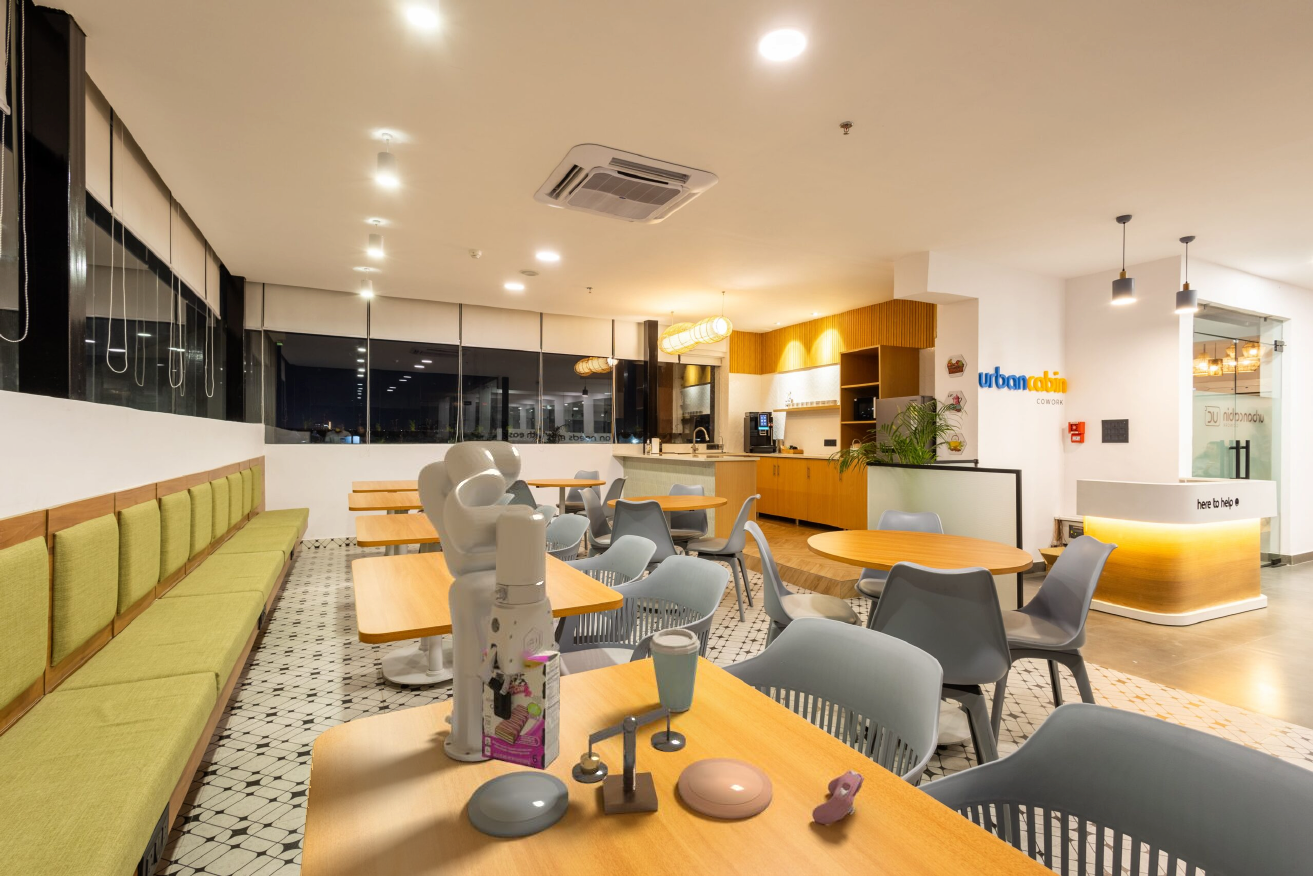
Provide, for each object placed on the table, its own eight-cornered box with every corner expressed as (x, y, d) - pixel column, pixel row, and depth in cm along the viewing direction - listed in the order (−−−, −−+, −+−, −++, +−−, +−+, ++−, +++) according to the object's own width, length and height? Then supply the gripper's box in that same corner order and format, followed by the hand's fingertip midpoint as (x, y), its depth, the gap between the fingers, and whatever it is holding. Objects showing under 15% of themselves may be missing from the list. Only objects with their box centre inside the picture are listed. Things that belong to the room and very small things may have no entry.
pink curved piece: (835, 842, 90) (858, 806, 88) (808, 818, 92) (830, 783, 90) (852, 807, 98) (873, 774, 97) (827, 786, 100) (847, 753, 99)
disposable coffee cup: (701, 718, 125) (702, 644, 125) (648, 717, 125) (648, 643, 125) (698, 695, 136) (699, 627, 135) (649, 695, 136) (650, 626, 136)
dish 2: (660, 794, 98) (660, 786, 98) (709, 755, 110) (710, 748, 110) (743, 832, 89) (743, 823, 89) (788, 785, 101) (788, 777, 101)
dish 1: (447, 811, 94) (447, 802, 94) (523, 768, 106) (523, 760, 106) (513, 852, 85) (513, 842, 85) (588, 800, 97) (588, 792, 97)
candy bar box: (479, 759, 94) (480, 651, 94) (498, 743, 99) (499, 641, 99) (544, 772, 91) (545, 661, 91) (560, 756, 95) (561, 650, 95)
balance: (571, 817, 92) (572, 724, 92) (571, 787, 100) (572, 701, 100) (689, 808, 95) (690, 717, 95) (680, 779, 103) (681, 695, 103)
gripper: (490, 608, 86) (490, 738, 86) (577, 585, 100) (577, 696, 100) (457, 599, 90) (457, 723, 90) (545, 578, 104) (544, 685, 104)
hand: (520, 708), depth 95 cm, fingers closed on candy bar box, 6 cm apart
